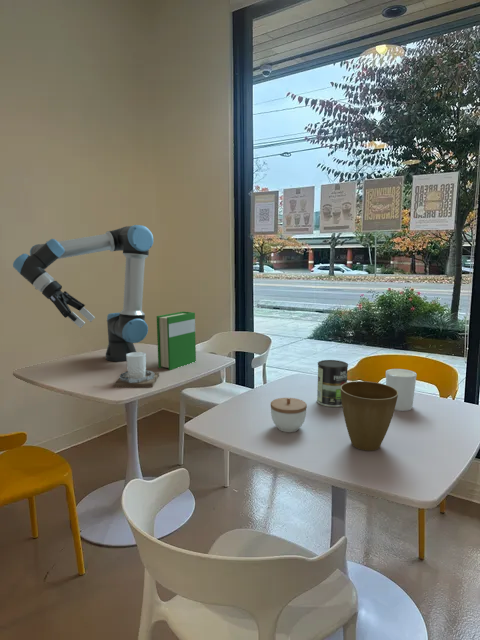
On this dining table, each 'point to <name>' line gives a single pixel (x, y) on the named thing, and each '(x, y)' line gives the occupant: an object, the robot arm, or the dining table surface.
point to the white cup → (136, 364)
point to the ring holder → (137, 380)
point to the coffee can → (331, 382)
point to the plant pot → (367, 412)
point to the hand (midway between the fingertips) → (88, 322)
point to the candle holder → (402, 387)
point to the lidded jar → (288, 413)
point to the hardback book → (176, 339)
